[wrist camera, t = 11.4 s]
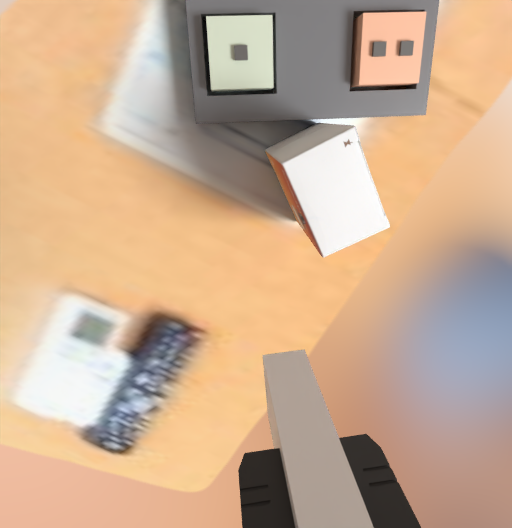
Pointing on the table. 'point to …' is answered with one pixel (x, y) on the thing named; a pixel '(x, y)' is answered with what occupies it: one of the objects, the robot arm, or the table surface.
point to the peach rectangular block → (387, 49)
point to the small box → (328, 186)
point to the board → (308, 62)
